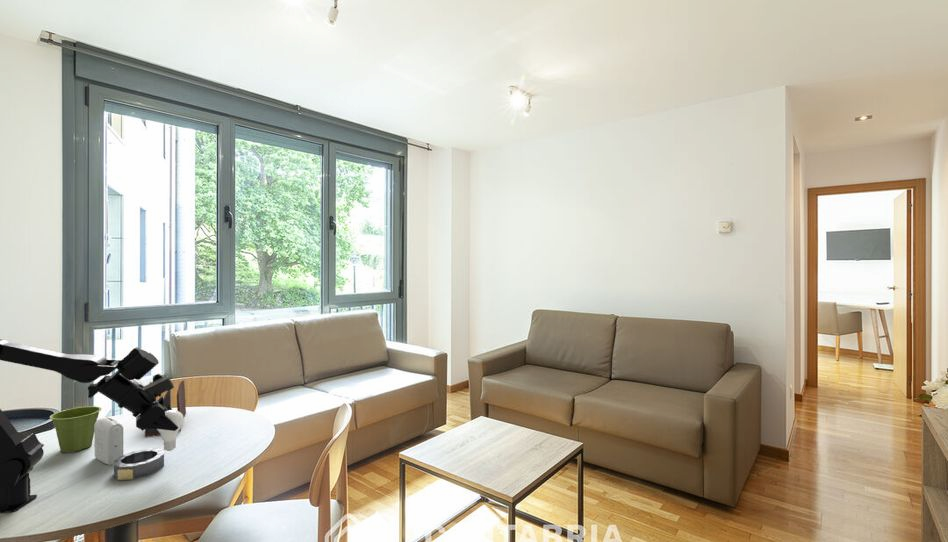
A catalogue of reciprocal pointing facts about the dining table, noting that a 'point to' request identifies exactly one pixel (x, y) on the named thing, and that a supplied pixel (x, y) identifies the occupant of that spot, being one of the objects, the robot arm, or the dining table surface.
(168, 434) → the lightbulb
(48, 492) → the dining table surface
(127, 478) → the roll of grey tape
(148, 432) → the letter holder
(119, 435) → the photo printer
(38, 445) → the robot arm
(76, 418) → the plant pot
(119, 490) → the dining table surface
